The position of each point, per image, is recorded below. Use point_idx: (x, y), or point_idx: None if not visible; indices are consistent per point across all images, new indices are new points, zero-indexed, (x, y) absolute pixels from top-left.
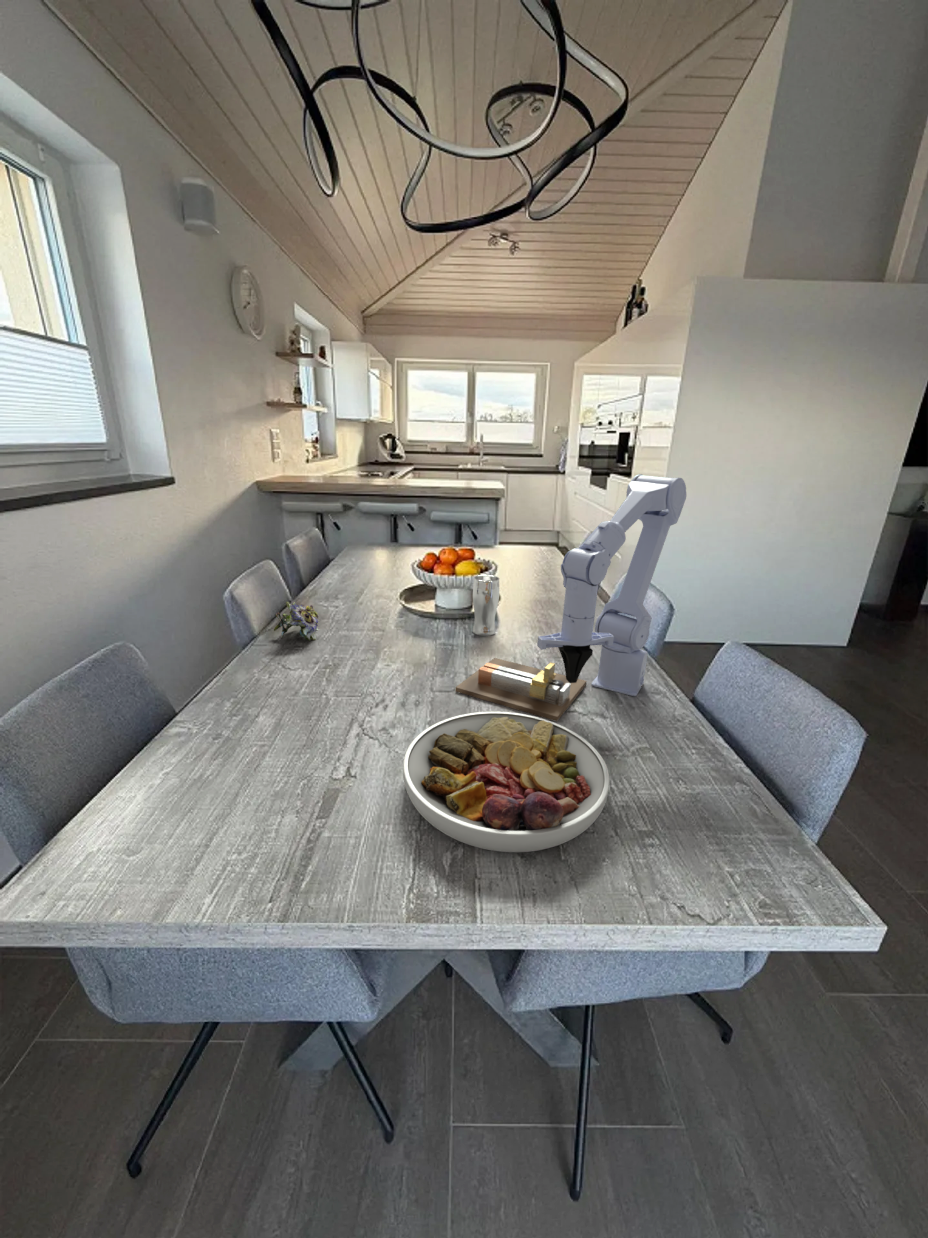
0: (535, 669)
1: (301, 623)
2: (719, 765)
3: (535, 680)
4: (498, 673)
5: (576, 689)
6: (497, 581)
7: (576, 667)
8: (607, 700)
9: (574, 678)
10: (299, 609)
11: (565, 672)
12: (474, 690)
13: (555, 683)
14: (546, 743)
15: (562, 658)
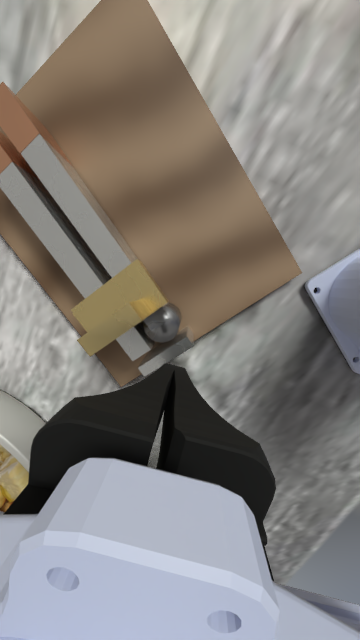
0: (212, 138)
1: None
2: (277, 559)
3: (78, 319)
4: (13, 195)
5: (239, 304)
6: None
7: (161, 444)
8: (281, 356)
9: (164, 409)
10: None
11: (159, 368)
12: None
13: (150, 329)
14: (14, 498)
15: (129, 387)
